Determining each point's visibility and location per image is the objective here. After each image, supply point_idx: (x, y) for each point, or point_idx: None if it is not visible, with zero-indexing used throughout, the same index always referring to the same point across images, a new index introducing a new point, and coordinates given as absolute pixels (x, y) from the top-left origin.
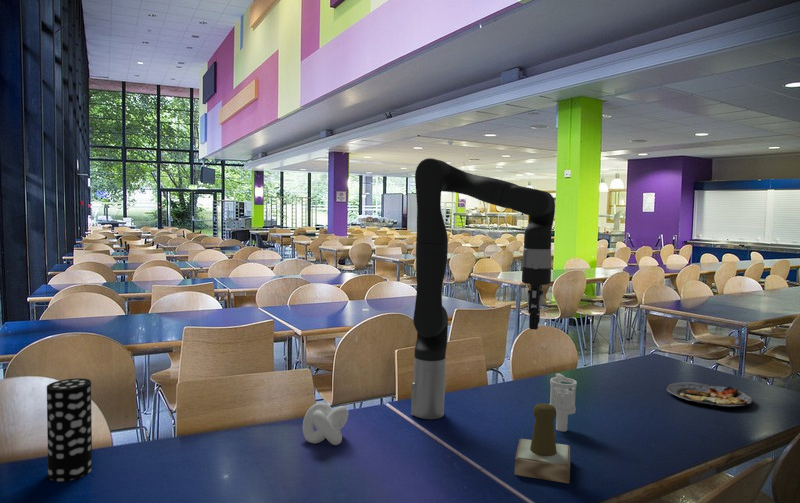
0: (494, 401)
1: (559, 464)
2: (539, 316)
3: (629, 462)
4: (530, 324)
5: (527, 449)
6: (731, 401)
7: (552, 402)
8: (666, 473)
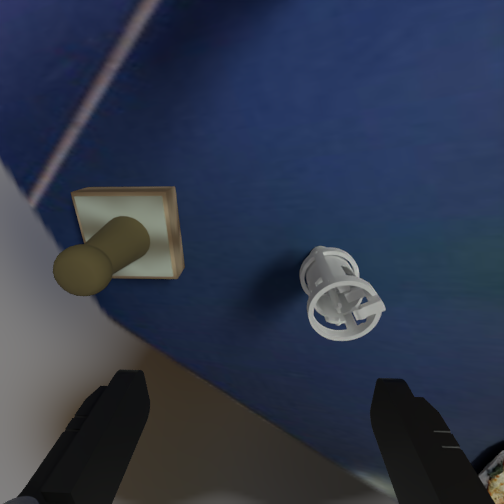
0: (485, 86)
1: None
2: (392, 482)
3: (218, 341)
4: (106, 401)
5: (116, 211)
6: (499, 493)
7: (316, 262)
8: (203, 374)
